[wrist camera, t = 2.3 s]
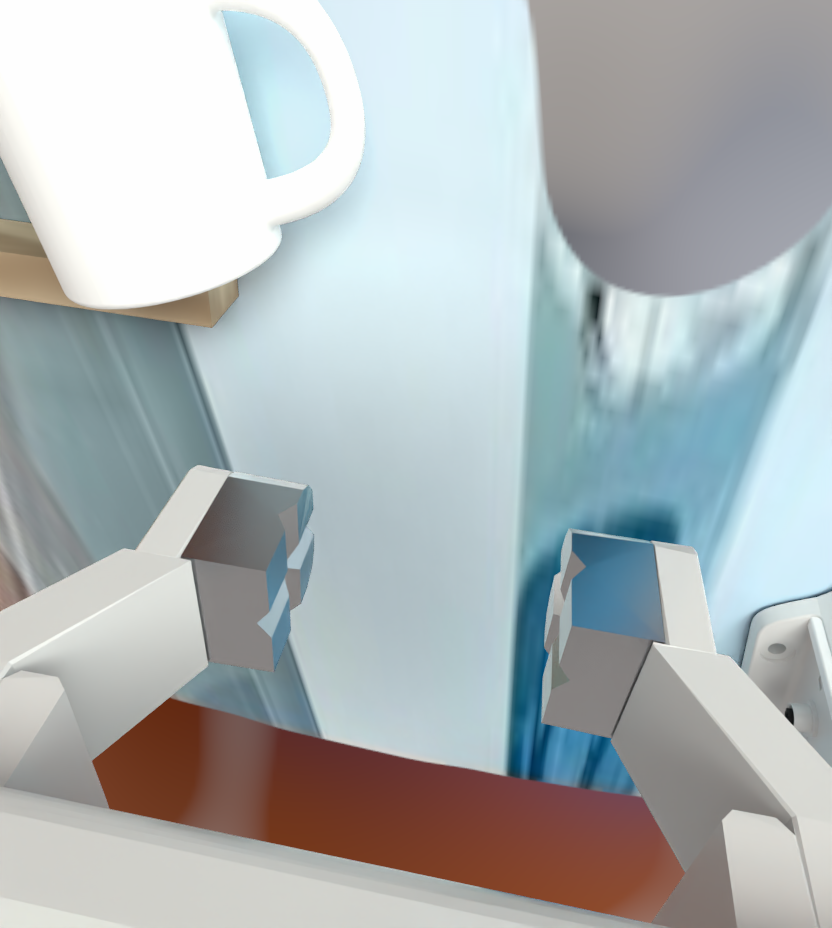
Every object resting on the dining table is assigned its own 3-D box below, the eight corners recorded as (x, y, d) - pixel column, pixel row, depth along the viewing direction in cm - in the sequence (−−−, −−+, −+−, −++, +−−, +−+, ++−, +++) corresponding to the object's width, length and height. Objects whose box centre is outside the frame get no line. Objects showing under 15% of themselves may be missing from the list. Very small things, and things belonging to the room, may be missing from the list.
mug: (131, 234, 31) (21, 320, 25) (19, -50, 25) (-161, -31, 19) (407, 204, 28) (361, 292, 22) (354, -123, 23) (271, -128, 16)
